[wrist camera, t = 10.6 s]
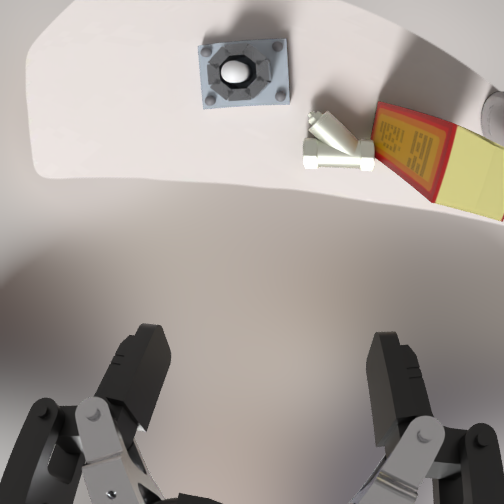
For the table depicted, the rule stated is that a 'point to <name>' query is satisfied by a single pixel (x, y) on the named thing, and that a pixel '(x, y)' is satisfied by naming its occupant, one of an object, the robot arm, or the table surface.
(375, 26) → the table surface
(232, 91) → the hub
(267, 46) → the mounting base with peg
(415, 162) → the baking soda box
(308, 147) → the pipe fitting
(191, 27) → the table surface
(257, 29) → the table surface
